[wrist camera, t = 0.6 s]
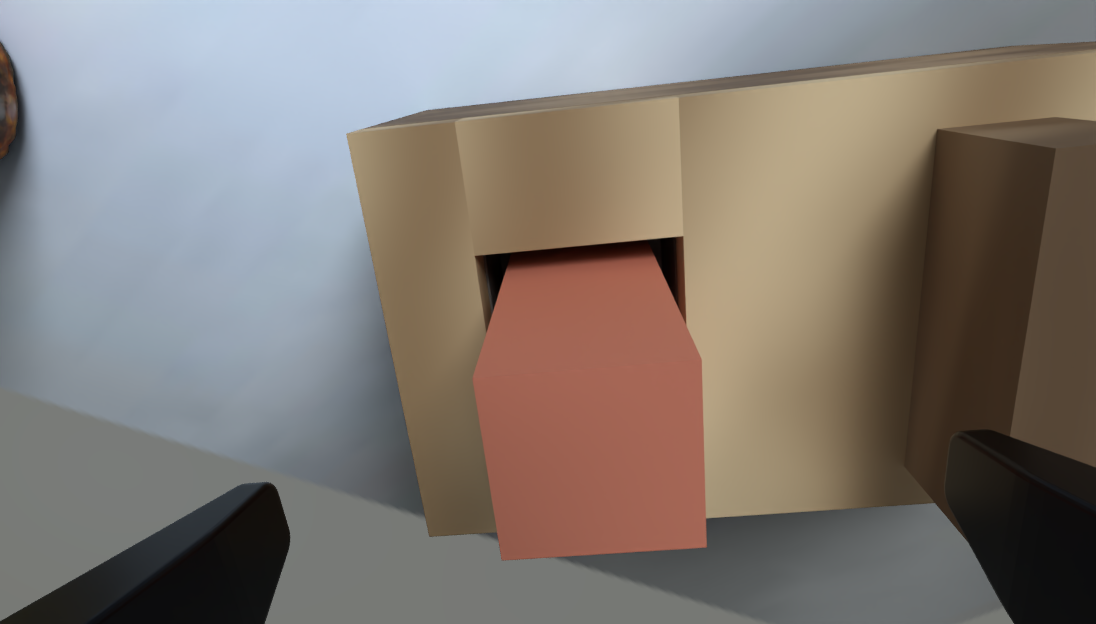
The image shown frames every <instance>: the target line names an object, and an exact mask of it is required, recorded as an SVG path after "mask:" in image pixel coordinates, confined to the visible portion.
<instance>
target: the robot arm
mask: <svg viewBox="0 0 1096 624" xmlns="http://www.w3.org/2000/svg"><path fill="white" fill-rule="evenodd" d="M944 492H945V497H946V500H947V503H948V506H949V508H950V510H951V511H952V513H953V515H954V517H955V519H956V521H957V522H958V524H959V526H960V528H961V530H962V532H963V534H964V535H965V537H966V539H967V541H968V543H969V545H970V547H971V548H972V550H973V552H974V554H975V556H976V558H977V559H978V561H979V563H980V565H981V567H982V569H983V571H984V572H985V574H986V576H987V578H988V580H989V582H990V584H991V585H992V587H993V589H994V591H995V593H996V595H997V596H998V598H999V600H1000V602H1001V603H1002V605H1003V607H1004V608H1005V610H1006V612H1007V613H1008V615H1009V617H1010V618H1011V619H1012V621H1013V623H1014V624H1096V467H1094V466H1091V465H1088V464H1085V463H1083V462H1080V461H1077V460H1074V459H1072V458H1069V457H1066V456H1063V455H1060V454H1058V453H1055V452H1052V451H1049V450H1046V449H1044V448H1041V447H1038V446H1035V445H1032V444H1030V443H1027V442H1024V441H1021V440H1019V439H1016V438H1013V437H1010V436H1007V435H1005V434H1002V433H999V432H996V431H993V430H990V429H979V430H966V431H958V432H956V433H955V434H953V435H952V437H951V439H950V442H949V448H948V456H947V465H946V473H945V482H944ZM289 545H290V531H289V527H288V524H287V520H286V517H285V514H284V510H283V507H282V504H281V500H280V497H279V494H278V491H277V489H276V487H275V486H274V485H273V484H271V483H269V482H262V483H248V484H242V485H239V486H237V487H235V488H234V489H232V490H230V491H228V492H227V493H225V494H223V495H222V496H220V497H218V498H216V499H214V500H213V501H211V502H209V503H207V504H206V505H204V506H202V507H200V508H199V509H197V510H195V511H193V512H192V513H190V514H188V515H186V516H185V517H183V518H181V519H179V520H177V521H176V522H174V523H172V524H170V525H169V526H167V527H165V528H163V529H162V530H160V531H158V532H156V533H155V534H153V535H151V536H149V537H148V538H146V539H144V540H142V541H140V542H139V543H137V544H135V545H133V546H132V547H130V548H128V549H126V550H125V551H123V552H121V553H119V554H118V555H116V556H114V557H112V558H111V559H109V560H107V561H106V562H104V563H102V564H100V565H98V566H97V567H95V568H93V569H91V570H89V571H88V572H86V573H85V574H83V575H81V576H79V577H77V578H76V579H74V580H72V581H70V582H68V583H67V584H65V585H63V586H61V587H60V588H58V589H56V590H54V591H53V592H51V593H49V594H47V595H46V596H44V597H42V598H40V599H38V600H37V601H35V602H33V603H31V604H30V605H28V606H27V607H24V608H23V609H21V610H19V611H17V612H16V613H14V614H12V615H10V616H9V617H7V618H5V619H3V620H2V621H0V624H265V621H266V618H267V615H268V612H269V608H270V605H271V602H272V599H273V596H274V593H275V590H276V587H277V584H278V581H279V578H280V575H281V572H282V569H283V565H284V562H285V559H286V556H287V553H288V550H289Z"/></svg>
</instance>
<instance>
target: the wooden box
mask: <svg viewBox="0 0 1096 624" xmlns="http://www.w3.org/2000/svg"><path fill="white" fill-rule="evenodd" d="M1093 49H1096V42H1079V43H1060V44H1041V45H1021V46H1008V47H999V48H989V49H980V50H971V51H962V52H953V53H944V54H935V55H926V56H917V57H908V58H899V59H889V60H880V61H871V62H862V63H853V64H844V65H835V66H826V67H817V68H808V69H799V70H789V71H780V72H771V73H762V74H753V75H744V76H735V77H726V78H717V79H708V80H698V81H689V82H680V83H671V84H662V85H653V86H644V87H635V88H626V89H617V90H608V91H598V92H589V93H580V94H571V95H562V96H553V97H544V98H535V99H526V100H517V101H507V102H498V103H489V104H480V105H471V106H462V107H453V108H444V109H435V110H426V111H423V112H419V113H416V114H412V115H409V116H405V117H402V118H399V119H395V120H392V121H388V122H385V123H381V124H378V125H375V126H371V127H368V128H376V127H386V126H395V125H404V124H413V123H422V122H432V121H441V120H450V119H459V118H468V117H478V116H487V115H496V114H505V113H514V112H523V111H533V110H542V109H551V108H560V107H569V106H579V105H588V104H597V103H606V102H615V101H625V100H634V99H643V98H652V97H661V96H671V95H680V94H689V93H698V92H707V91H717V90H726V89H735V88H744V87H753V86H763V85H772V84H781V83H790V82H799V81H808V80H818V79H827V78H836V77H845V76H854V75H864V74H873V73H882V72H891V71H900V70H910V69H919V68H928V67H937V66H946V65H956V64H965V63H974V62H983V61H992V60H1002V59H1011V58H1020V57H1029V56H1038V55H1047V54H1057V53H1066V52H1075V51H1084V50H1093ZM364 129H367V128H364ZM647 241H648V243H649V245H650V247H651V249H652V252H653V254H654V256H655V258H656V260H657V263H658V265H659V267H660V269H661V271H662V273H663V276H664V278H665V280H666V282H667V284H668V287H669V289H670V291H671V293H672V295H673V298H674V300H675V302H676V304H677V306H678V280H677V254H676V237H668V238H657V239H647ZM511 253H512V252H510V253H499V254H489V255H483V259H484V266H485V273H486V280H487V286H488V293H489V300H490V307H491V314H493V311H494V307H495V304H496V301H497V298H498V295H499V291H500V288H501V285H502V282H503V278H504V275H505V272H506V269H507V266H508V262H509V259H510V256H511ZM678 308H679V306H678Z"/></svg>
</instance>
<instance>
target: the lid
mask: <svg viewBox="0 0 1096 624" xmlns="http://www.w3.org/2000/svg"><path fill="white" fill-rule="evenodd" d="M346 135H347V139H348V144H349V149H350V154H351V159H352V164H353V169H354V173H355V178H356V183H357V188H358V193H359V198H360V203H361V207H362V212H363V217H364V222H365V227H366V232H367V236H368V241H369V246H370V251H371V256H372V261H373V266H374V270H375V275H376V280H377V285H378V290H379V295H380V300H381V304H382V309H383V314H384V319H385V324H386V329H387V334H388V338H389V343H390V348H391V353H392V358H393V363H394V368H395V372H396V377H397V382H398V387H399V392H400V397H401V402H402V406H403V411H404V416H405V421H406V426H407V431H408V436H409V440H410V445H411V450H412V455H413V460H414V465H415V470H416V474H417V479H418V484H419V489H420V494H421V499H422V503H423V508H424V513H425V518H426V523H427V527H428V533H429V536H430V537H433V536H448V535H463V534H478V533H493V532H497V528H496V522H495V515H494V509H493V503H492V497H491V491H490V484H489V478H488V472H487V466H486V460H485V454H484V447H483V441H482V435H481V429H480V423H479V416H478V410H477V404H476V398H475V392H474V385H473V379H472V378H473V375H474V371H475V368H476V365H477V362H478V359H479V355H480V352H481V349H482V346H483V343H484V339H485V336H486V333H487V330H488V327H489V323H490V320H491V317H492V314H491V307H490V300H489V293H488V286H487V280H486V273H485V266H484V259H483V255H489V254H499V253H510V252H520V251H531V250H541V249H552V248H563V247H573V246H584V245H594V244H605V243H615V242H626V241H636V240H647V239H657V238H668V237H676V254H677V280H678V306H679V311H680V313H681V315H682V317H683V319H684V322H685V324H686V326H687V328H688V330H689V333H690V335H691V337H692V339H693V341H694V343H695V346H696V348H697V350H698V352H699V354H700V357H701V359H702V386H703V425H704V463H705V501H706V518H717V517H732V516H747V515H762V514H777V513H792V512H807V511H822V510H837V509H852V508H867V507H882V506H897V505H912V504H927V503H936V505H937V506H938V507H939V508H940V509H941V511H942V512H943V513H944V514H945V515H946V517H947V518H948V519H949V520H950V521H951V522H952V524H953V525H954V526H955V527H956V528H957V530H958V531H959V532H960V533H961V534H962V535H963V537H964V538H965V539H966V537H965V535H964V534H963V532H962V530H961V528H960V526H959V524H958V522H957V521H956V519H955V517H954V515H953V513H952V511H951V510H950V508H949V506H948V503H947V500H946V497H945V492H944V482H945V473H946V465H947V456H948V448H949V442H950V439H951V437H952V435H953V434H955V433H956V432H958V431H966V430H979V429H990V430H993V431H996V432H999V433H1002V434H1005V435H1007V436H1010V437H1013V438H1016V439H1019V440H1021V441H1024V442H1027V443H1030V444H1032V445H1035V446H1038V447H1041V448H1044V449H1046V450H1049V451H1052V452H1055V453H1058V454H1060V455H1063V456H1066V457H1069V458H1072V459H1074V460H1077V461H1080V462H1083V463H1085V464H1088V465H1091V466H1094V467H1096V49H1093V50H1084V51H1075V52H1066V53H1057V54H1047V55H1038V56H1029V57H1020V58H1011V59H1002V60H992V61H983V62H974V63H965V64H956V65H946V66H937V67H928V68H919V69H910V70H900V71H891V72H882V73H873V74H864V75H854V76H845V77H836V78H827V79H818V80H808V81H799V82H790V83H781V84H772V85H763V86H753V87H744V88H735V89H726V90H717V91H707V92H698V93H689V94H680V95H671V96H661V97H652V98H643V99H634V100H625V101H615V102H606V103H597V104H588V105H579V106H569V107H560V108H551V109H542V110H533V111H523V112H514V113H505V114H496V115H487V116H478V117H468V118H459V119H450V120H441V121H432V122H422V123H413V124H404V125H395V126H386V127H376V128H367V129H361V130H357V131H354V132H351V133H347V134H346ZM966 540H967V539H966Z"/></svg>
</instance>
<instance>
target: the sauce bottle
mask: <svg viewBox="0 0 1096 624" xmlns="http://www.w3.org/2000/svg"><path fill="white" fill-rule="evenodd" d="M13 73H14V71H13V68H12V66H11V63H10V59H9V55H8V54H7V52H6V50H5V49H4V47H3V46H2V44H1V42H0V159H2V158H3V157H4V156H5V155H6V154H7V153H8V152H9V144H10V143H11V142H12V141H13V140H14V139H15V137H16V125H17V121H18V109H17V108H18V102H17V96H16V87H15V85H14V83H13Z"/></svg>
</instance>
